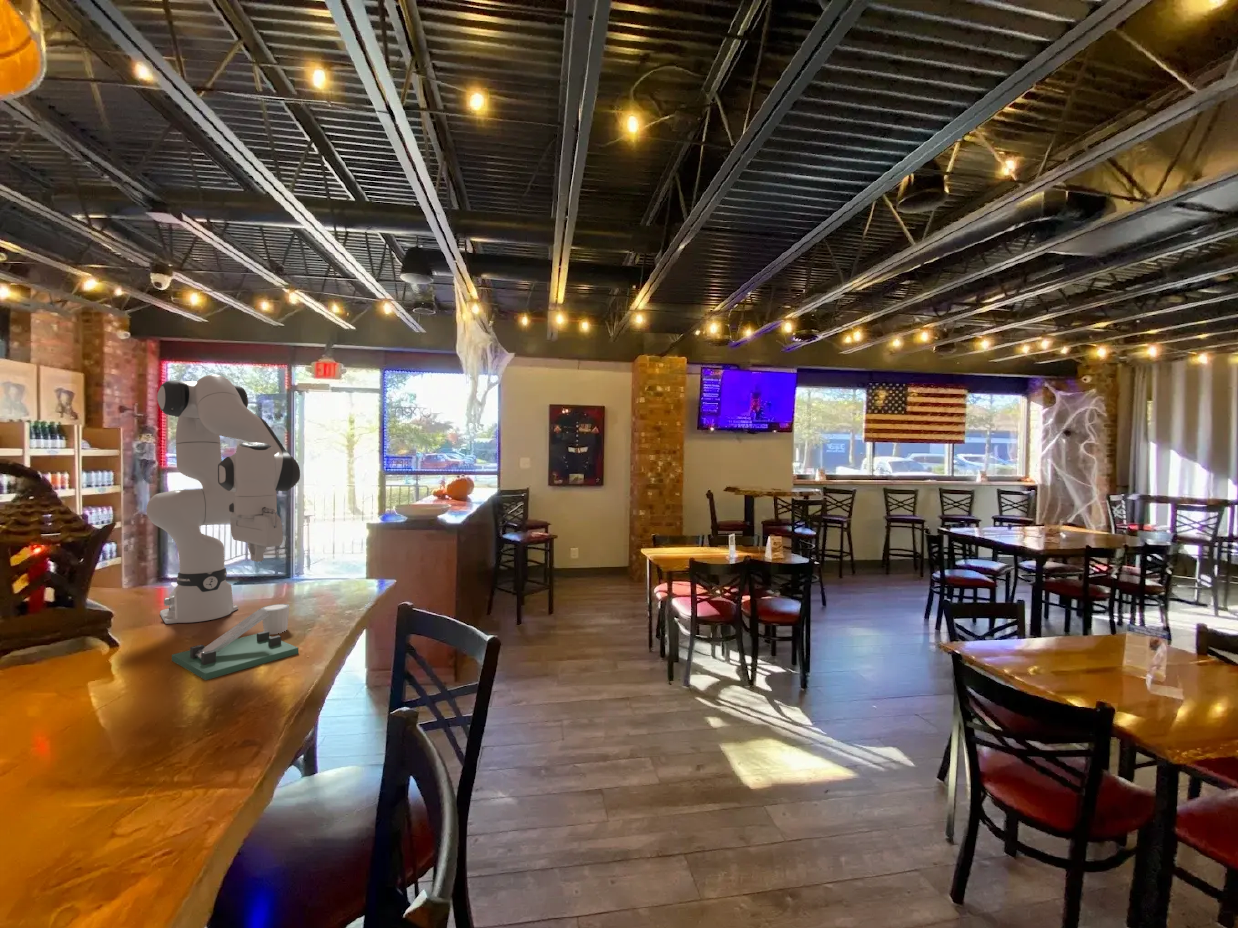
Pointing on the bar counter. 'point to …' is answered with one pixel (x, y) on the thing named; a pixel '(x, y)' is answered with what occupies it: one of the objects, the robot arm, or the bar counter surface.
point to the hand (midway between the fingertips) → (257, 560)
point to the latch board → (235, 655)
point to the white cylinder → (276, 618)
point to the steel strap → (234, 632)
